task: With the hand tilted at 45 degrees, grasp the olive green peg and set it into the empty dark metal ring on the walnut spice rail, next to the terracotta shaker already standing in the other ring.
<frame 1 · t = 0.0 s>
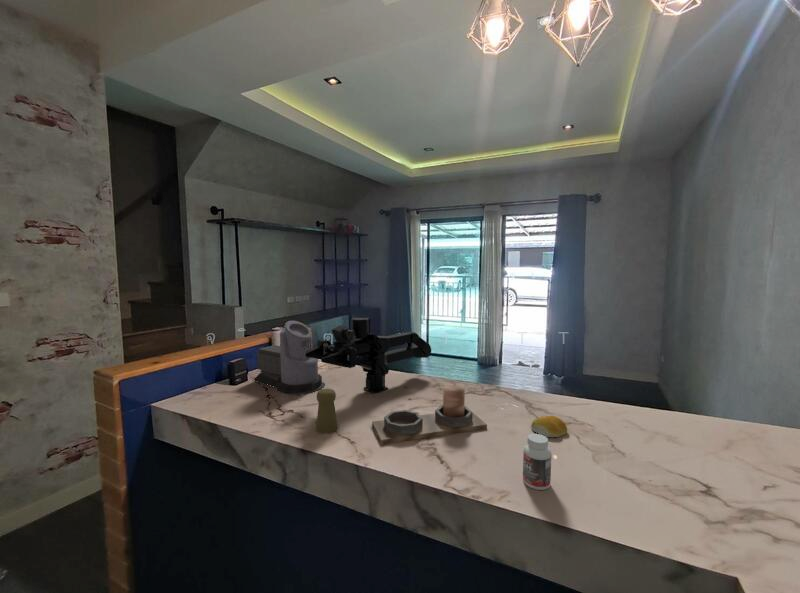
hand: (313, 357, 111), 17 cm above the counter, tool horizontal, fingers open, 9 cm apart
spice rail: (429, 427, 100), on the counter
bread roll: (548, 432, 98), on the counter
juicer: (289, 384, 137), on the counter
olive green peg: (327, 429, 100), on the counter
pill bottle: (536, 483, 75), on the counter
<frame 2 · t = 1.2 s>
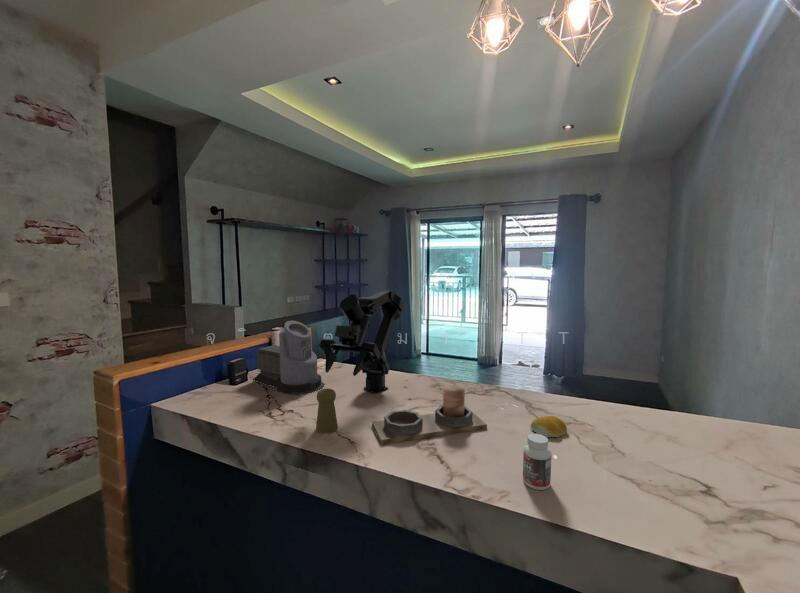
hand: (340, 373, 106), 13 cm above the counter, tool tilted 45°, fingers open, 9 cm apart
nothing on the counter moved.
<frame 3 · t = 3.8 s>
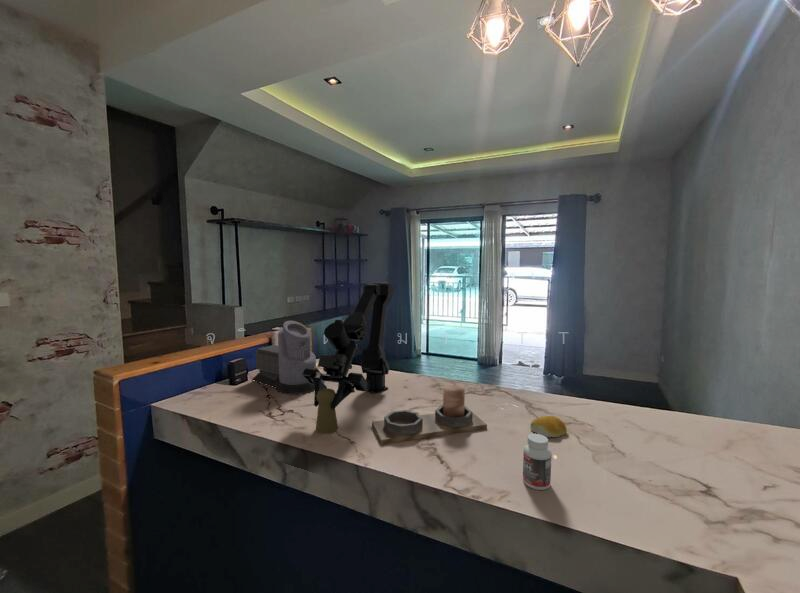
hand: (323, 407, 98), 7 cm above the counter, tool tilted 45°, fingers closed on olive green peg, 5 cm apart
olive green peg: (326, 429, 100), on the counter, touching gripper
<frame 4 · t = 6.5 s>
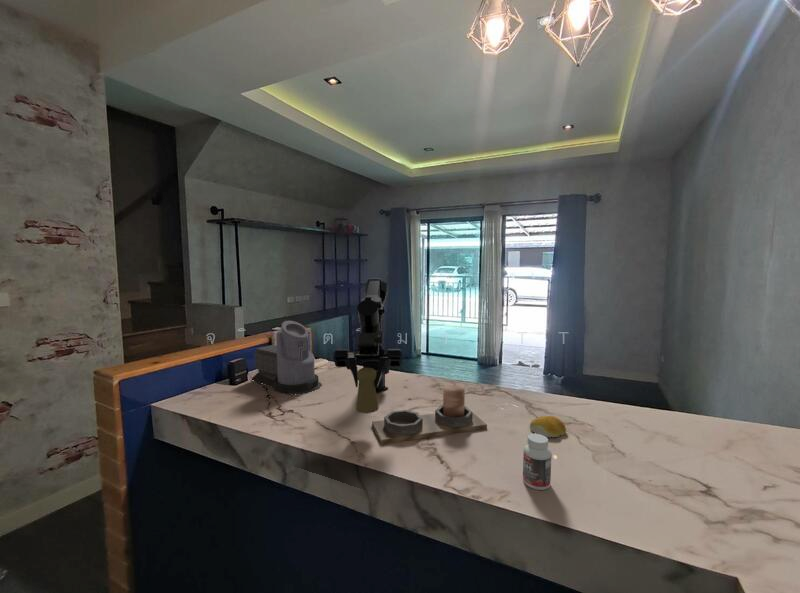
hand: (366, 386, 95), 13 cm above the counter, tool tilted 45°, fingers closed on olive green peg, 5 cm apart
olive green peg: (367, 409, 97), point 6 cm above the counter, touching gripper
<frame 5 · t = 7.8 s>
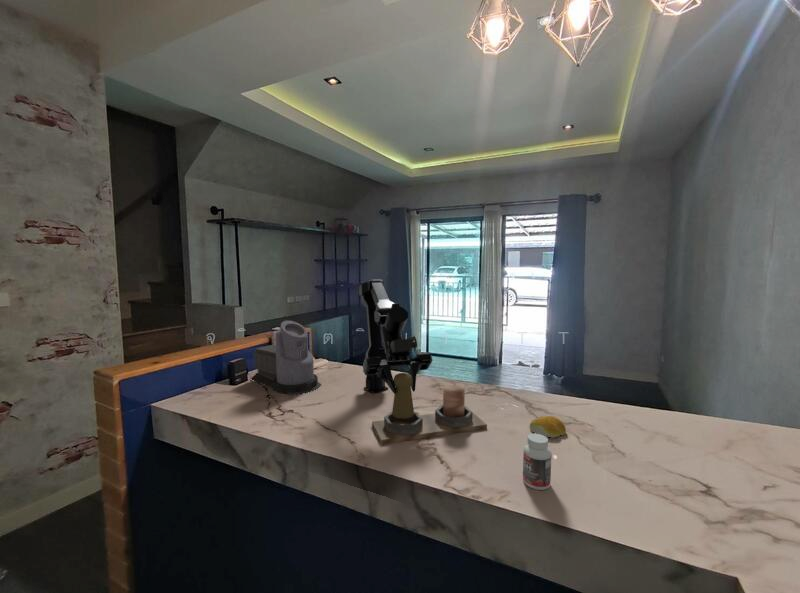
hand: (404, 391, 96), 11 cm above the counter, tool tilted 45°, fingers closed on olive green peg, 5 cm apart
olive green peg: (403, 414, 98), point 5 cm above the counter, touching gripper
when the fingers open (9 cm above the counter, at t = 9.1 s): olive green peg stays where it is, resting on spice rail.
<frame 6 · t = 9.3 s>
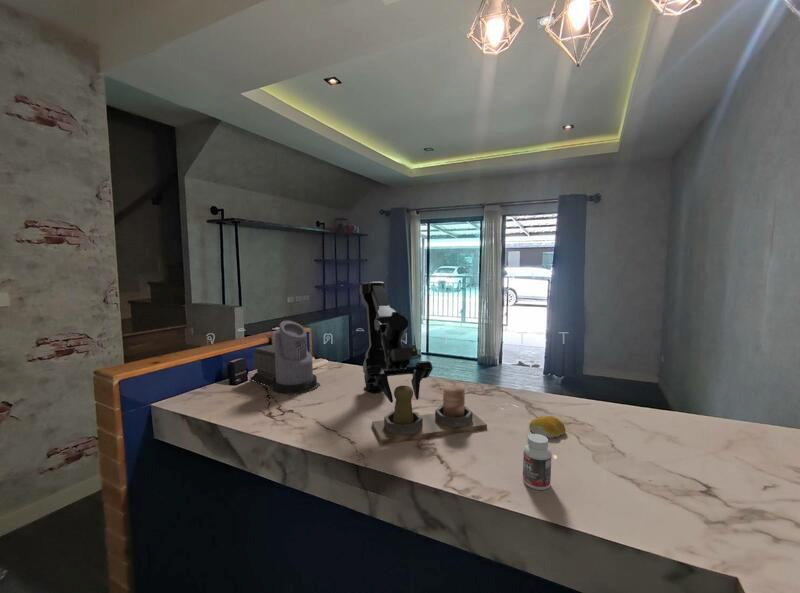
hand: (404, 400, 96), 9 cm above the counter, tool tilted 45°, fingers open, 7 cm apart
olive green peg: (403, 426, 98), point 1 cm above the counter, touching spice rail
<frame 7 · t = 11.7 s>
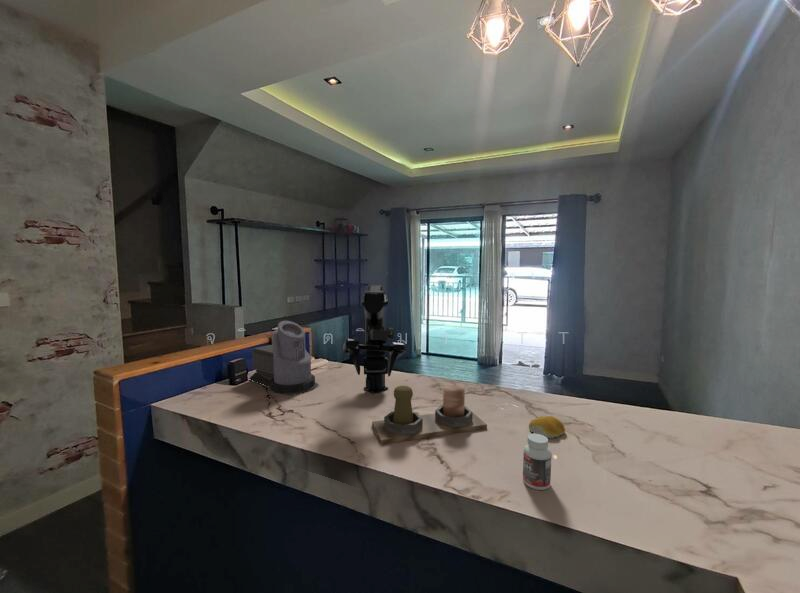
hand: (374, 375, 107), 12 cm above the counter, tool tilted 35°, fingers open, 9 cm apart
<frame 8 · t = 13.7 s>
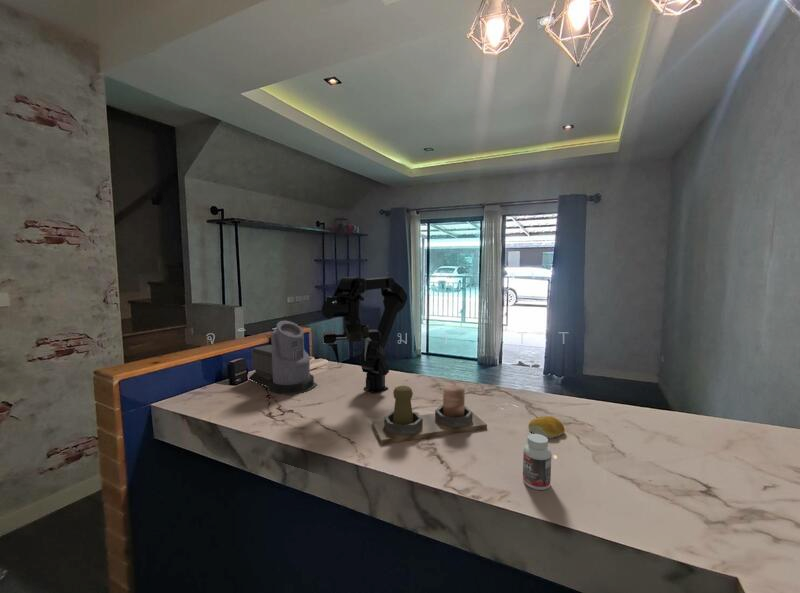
hand: (352, 361, 120), 13 cm above the counter, tool pointing down, fingers open, 9 cm apart
at the end: olive green peg 0.2 cm from the target spot, point 1.0 cm above the counter; olive green peg tilted 0°; the gripper is holding nothing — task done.
